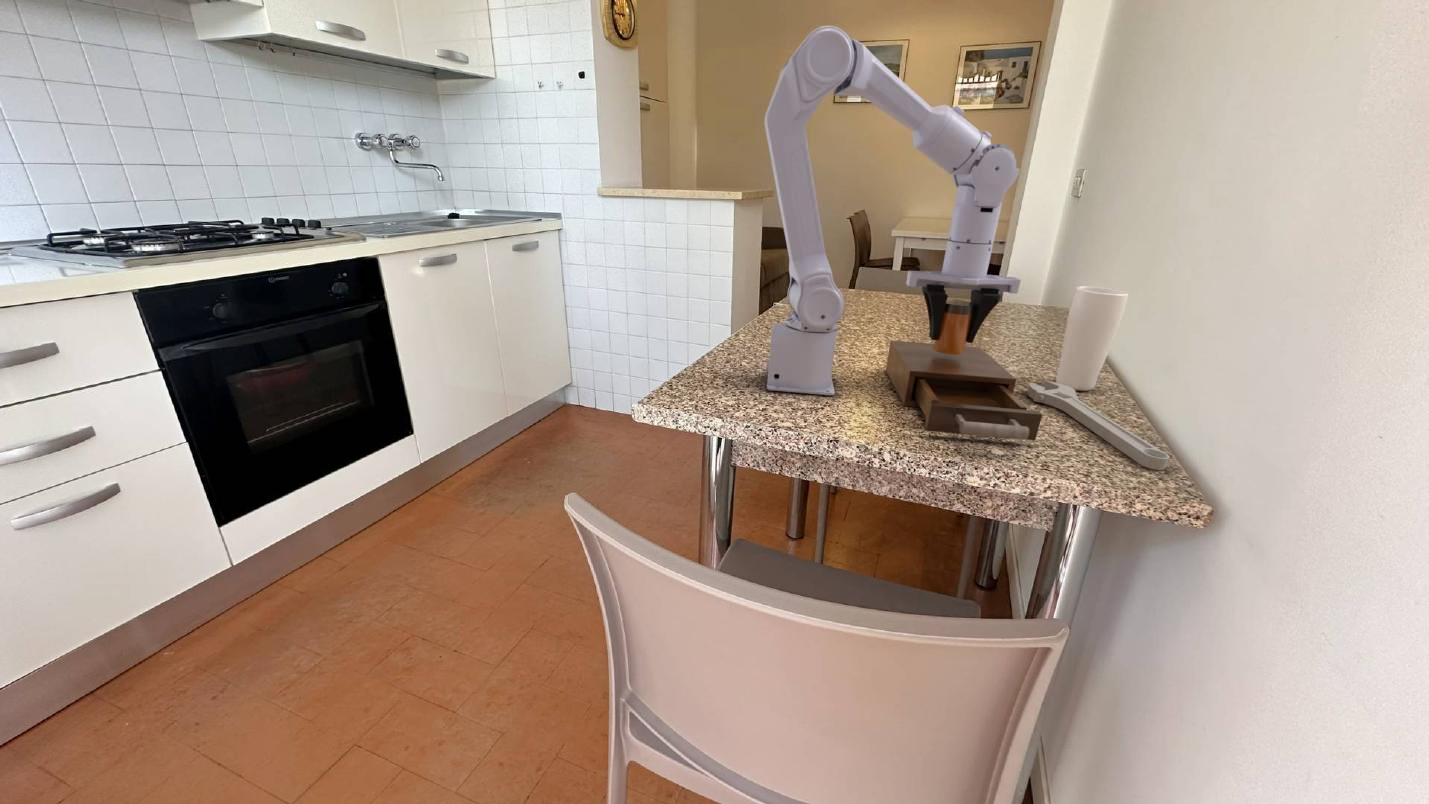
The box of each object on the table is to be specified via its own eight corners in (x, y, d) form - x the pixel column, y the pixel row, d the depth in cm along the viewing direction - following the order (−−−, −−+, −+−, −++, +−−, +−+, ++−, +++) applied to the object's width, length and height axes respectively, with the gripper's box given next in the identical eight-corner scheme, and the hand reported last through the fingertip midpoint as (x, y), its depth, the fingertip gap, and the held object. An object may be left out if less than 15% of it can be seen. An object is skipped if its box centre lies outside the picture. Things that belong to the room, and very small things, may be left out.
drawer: (1049, 455, 63) (1057, 428, 62) (934, 445, 64) (939, 418, 63) (993, 397, 80) (999, 374, 79) (903, 389, 81) (907, 367, 80)
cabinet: (1007, 415, 76) (1016, 379, 74) (903, 406, 78) (910, 370, 76) (972, 377, 91) (979, 346, 89) (885, 370, 92) (890, 340, 90)
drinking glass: (1052, 376, 93) (1077, 284, 88) (1100, 386, 90) (1130, 290, 84) (1046, 386, 88) (1073, 289, 83) (1098, 397, 85) (1129, 296, 79)
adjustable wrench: (1171, 472, 63) (1177, 457, 62) (1111, 468, 63) (1116, 453, 63) (1061, 392, 86) (1064, 381, 85) (1017, 389, 86) (1020, 378, 86)
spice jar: (936, 353, 81) (945, 304, 78) (928, 345, 85) (937, 298, 82) (969, 356, 80) (979, 306, 78) (960, 347, 84) (970, 300, 82)
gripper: (921, 241, 74) (903, 343, 79) (1038, 248, 72) (1013, 351, 77) (910, 236, 80) (894, 330, 85) (1017, 242, 79) (995, 338, 84)
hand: (950, 339), depth 82 cm, fingers closed on spice jar, 4 cm apart
